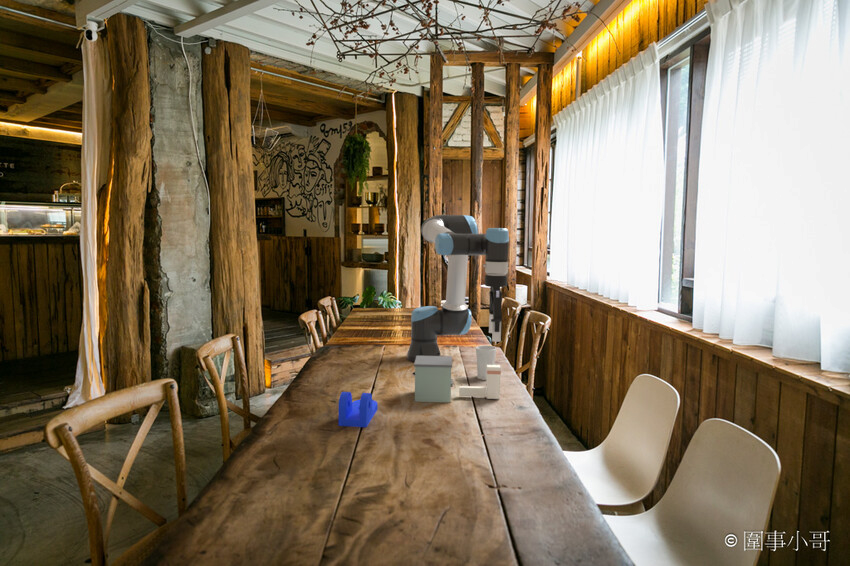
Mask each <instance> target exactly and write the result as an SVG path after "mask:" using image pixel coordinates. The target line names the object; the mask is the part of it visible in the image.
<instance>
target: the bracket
mask: <svg viewBox="0 0 850 566" xmlns="http://www.w3.org/2000/svg"><path fill="white" fill-rule="evenodd" d="M378 404H379V403H378V402H377V400H374V399H373V395H372V393H371V392H362V394H361V395H360V399H357V400H354V401H353V395H352V392H351V391H342V392H341V393H340V395H339V399H338V426H339V427H354V428H367V427H368V425H369V424H370V423H371V421H372V419H374V416H375V415H376V412H378Z"/></svg>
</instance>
